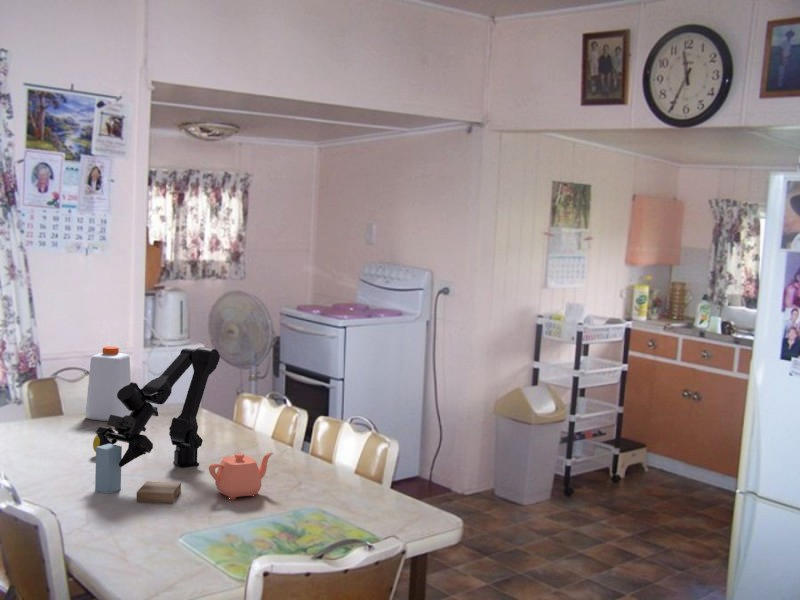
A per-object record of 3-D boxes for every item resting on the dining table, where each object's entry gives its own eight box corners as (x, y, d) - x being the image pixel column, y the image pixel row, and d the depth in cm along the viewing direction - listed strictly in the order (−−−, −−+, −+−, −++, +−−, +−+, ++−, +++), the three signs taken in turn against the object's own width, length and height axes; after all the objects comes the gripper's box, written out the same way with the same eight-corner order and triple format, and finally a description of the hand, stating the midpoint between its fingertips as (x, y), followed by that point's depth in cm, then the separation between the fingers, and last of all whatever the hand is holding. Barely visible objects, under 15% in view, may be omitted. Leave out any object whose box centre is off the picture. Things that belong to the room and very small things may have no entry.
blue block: (108, 486, 245) (109, 443, 244) (120, 489, 243) (121, 446, 242) (95, 490, 241) (96, 447, 240) (107, 494, 238) (108, 450, 237)
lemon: (104, 458, 272) (105, 435, 271) (89, 457, 273) (89, 433, 272) (113, 454, 277) (114, 431, 277) (98, 452, 279) (99, 429, 278)
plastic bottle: (81, 419, 322) (82, 348, 319) (101, 411, 336) (102, 343, 334) (117, 423, 319) (118, 351, 317) (135, 414, 334) (137, 346, 332)
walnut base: (146, 491, 243) (146, 481, 242) (180, 492, 243) (180, 482, 243) (136, 502, 233) (136, 492, 232) (172, 504, 233) (172, 493, 233)
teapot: (280, 496, 245) (282, 456, 244) (215, 505, 234) (217, 463, 233) (263, 483, 256) (264, 444, 255) (200, 491, 245) (201, 451, 244)
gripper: (101, 399, 249) (70, 442, 240) (147, 408, 240) (117, 453, 231) (120, 420, 256) (91, 463, 247) (165, 430, 248) (137, 474, 239)
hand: (108, 463), depth 241 cm, fingers open, 9 cm apart
